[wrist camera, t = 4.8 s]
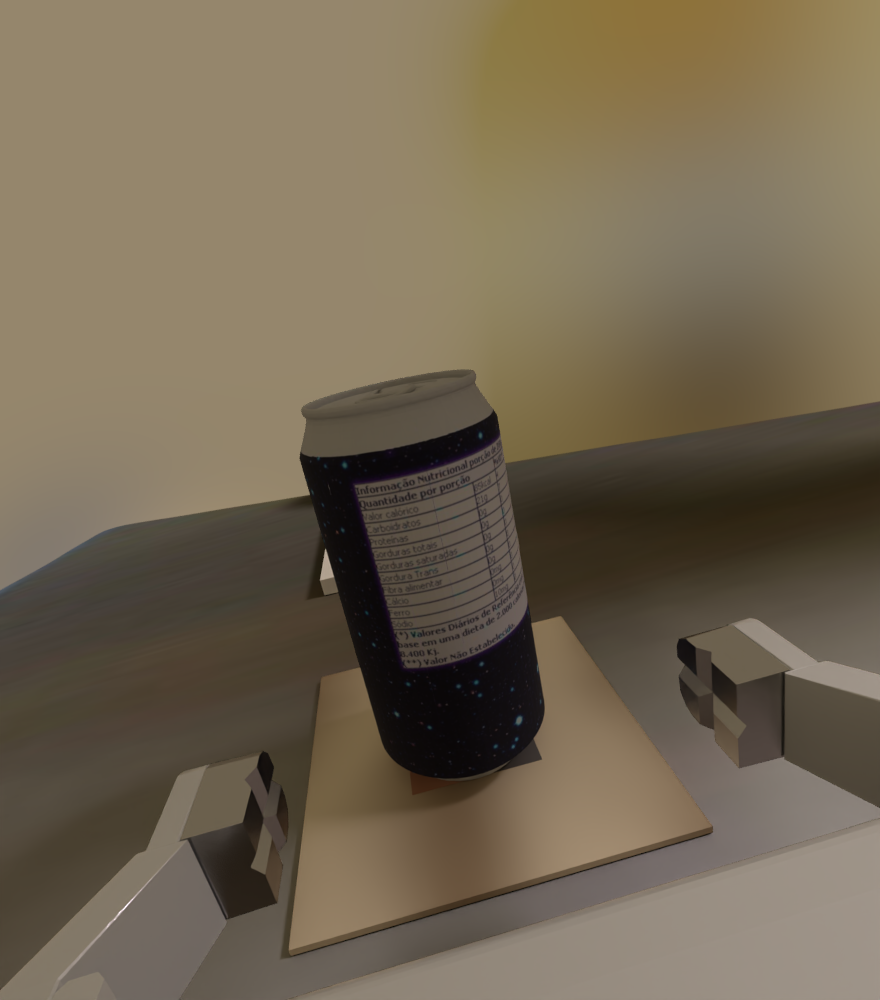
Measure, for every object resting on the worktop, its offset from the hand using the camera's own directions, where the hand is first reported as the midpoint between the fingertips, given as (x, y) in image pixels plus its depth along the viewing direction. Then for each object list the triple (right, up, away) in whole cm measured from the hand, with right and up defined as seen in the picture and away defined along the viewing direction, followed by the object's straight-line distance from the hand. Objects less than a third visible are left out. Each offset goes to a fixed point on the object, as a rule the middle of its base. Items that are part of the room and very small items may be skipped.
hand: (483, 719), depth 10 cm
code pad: (0, -4, +8) cm, 9 cm away
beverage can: (0, -4, +8) cm, 9 cm away
